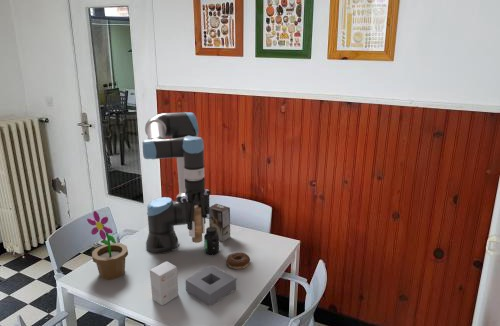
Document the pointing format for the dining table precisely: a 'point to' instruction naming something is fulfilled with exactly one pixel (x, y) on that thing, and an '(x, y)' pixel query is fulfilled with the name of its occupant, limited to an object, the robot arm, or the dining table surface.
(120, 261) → the flowerpot
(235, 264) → the donut
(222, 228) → the coffee box
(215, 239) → the supplement bottle
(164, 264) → the small box
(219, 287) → the socket block
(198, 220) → the oak peg
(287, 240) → the dining table surface
